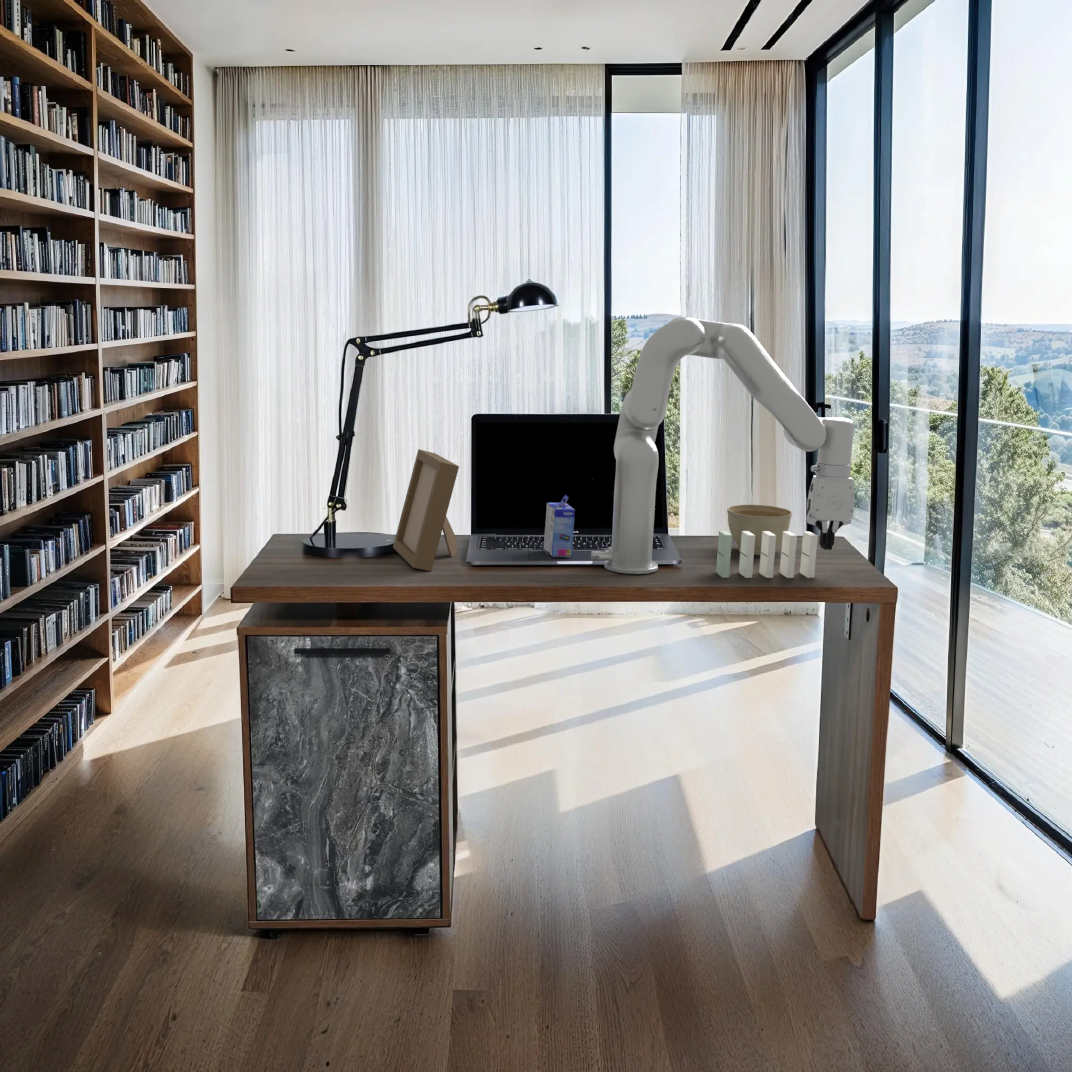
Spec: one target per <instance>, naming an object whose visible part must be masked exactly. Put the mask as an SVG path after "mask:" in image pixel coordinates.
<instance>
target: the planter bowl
mask: <svg viewBox="0 0 1072 1072" xmlns="http://www.w3.org/2000/svg"><path fill="white" fill-rule="evenodd" d="M792 516H793V512H792V511H791V510H789V509H787V508H783V507H779V506H775V505H765V504H737V505H732V506H728V507H727V525H728V528H729V533H730V534H731V535H732V539H733V541H734V542H735V544H736V545H737V551H738V552H740V549H741V536H742V531H749V532H751V533H752V534H754V535H755V546H754V556H755V555H756V556H761V543H762V531H770V532H771V533H773V534H774V535H776V544H775V553H776V552H777V550H778V549H777V548H778V547H779V546H780V545H782V537H783V531H789V528H790V524H791V518H792Z"/></svg>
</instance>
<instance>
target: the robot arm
mask: <svg viewBox="0 0 1072 1072" xmlns="http://www.w3.org/2000/svg"><path fill="white" fill-rule="evenodd" d="M686 356H695V357H701V358H709V359H717V360H724V362H725V363H726V364H727V366H728V367H729V369H730V370H731V371H732V372H733V374H734V375H735V376H736V377H737V378H738V380H739V381H740V383H741V384H742V385H743V386H744V388H745V389H746V390H747V392H748V393H749V394H750V396H751V397H753V399H754V400H755V401H756V402H757V403H759V404H760V405H761V406H762V407H763V408H765V409H766V410H767V411H768V412H769V413H771V415H772V416H773V417H774V418H775V419H776V421H778V423H779V424H780V425H781V427H782V428H783V434H784V437H785V439H786V440H787V442H788V443H790V445H792V446H793V447H795V448H797V449H799V450H801V451H803V452H804V451H805V452H814V451H817V459H816V461H817V462H816V463H815V465H811V466H810V471H811V473H812V472H814V473H815V475H813V477H812V479H811V483H810V486H809V489H808V495H807V496H808V497H807V504H806V515H807V516H806V518H805V522H806V523H807V524H809V525H812V526H815V527H816V528H817V529H818V531H819V541H818V544H819V546H820V548H821V549H823V550H824V551H825V550H827V551H828V550H829V551H831V550H833V547H834V545H835V537H836V536H835V534H836V533H838V530H839V529H841V528H842V527H843V526H847V525H851V524H852V519H853V518H854V515H855V484H854V483H855V482H854V478H853V477H850V476H851V475H850V474H851V463H852V454H853V444H854V432H855V423H854V421H853V420H852V419H850V418H847V417H839V416H832V417H831V416H829V417H820V416H818V415H817V414H816V412H815V411H814V410H813V408H812V407H811V406H810V405H809V404H808V402H807V401H806V400H805V398H804V397H803V396H802V395H801V394H800V393H799V391H798V390H797V389H796V388H795V386H794V385H793V384H792V382H791V381H790V380H789V379H788V378H787V376H786V375H785V374H784V373H783V372H782V370H781V369H780V368H779V367H778V365H777V364H776V362H775V361H774V360H773V359H772V358H771V356H770V355H769V353H768V352H767V351H766V349H765V348H764V347H763V346H762V344H761V343H760V341H758V339H757V337H756V336H755V335H754V334H753V333H752V332H751V331H750V329H749V328H747V327H746V326H744V325H743V324H737V323H727V322H718V321H711V320H705V319H699V318H693V317H689V316H678V317H676V318H672V319H671V320H670V321H669V322H668V323H667V324H664V325H662V326H661V327H659V328H658V329H657V330H655V332H653V334H652V335H650V337H649V338H648V339H647V340H646V342H645V344H644V345H643V347H642V349H641V351H640V354H639V357H638V360H637V364H636V370H635V372H634V375H633V376H634V377H633V381H632V385H631V388H630V390H629V391H628V392H627V393H626V395H624V398H623V402H622V405H621V409H620V414H619V418H618V423H617V427H616V428H617V429H616V433H615V439H614V445H613V453H614V458H615V460H616V461H615V478H614V490H613V512H612V513H613V514H612V535H611V546H608V549H604V551H599V550H598V551H597V550H592V551H591V552H590V554H591V555H590V558H591V559H590V560H598V561H604V563H603V566H604V568H605V569H606V570H608V571H609V572H610V571H611V572H615V573H619V574H628V575H645V574H652V573H654V572H657V571H658V568H659V566H658V563H656V562H655V561H653V560H652V559H653V558H652V557H653V546H654V545H653V541H654V524H655V510H656V508H655V506H656V491H657V479H658V471H659V463H660V462H659V461H660V460H659V459H660V458H659V451H658V448H657V445H656V443H655V442H656V438H657V434H658V429H659V425H661V423H663V420H664V419H665V416H666V413H667V405H668V399H669V394H670V390H671V386H672V385H671V384H672V381H673V378H674V374H675V369H676V368H677V366H678V363H679V362H680V361H681V359H683V358H684V357H686Z"/></svg>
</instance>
